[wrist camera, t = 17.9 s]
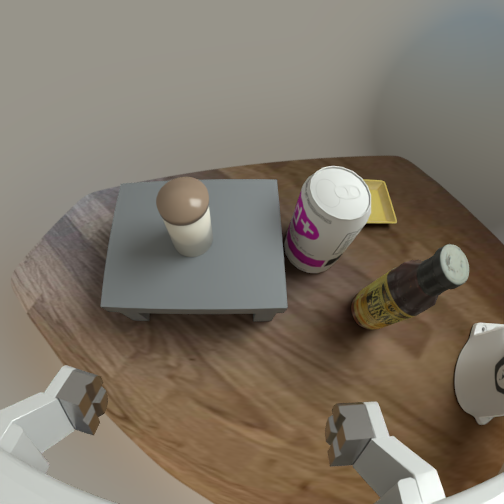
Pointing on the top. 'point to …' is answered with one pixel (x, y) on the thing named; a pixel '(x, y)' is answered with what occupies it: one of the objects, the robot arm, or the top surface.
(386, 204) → the yellow shallow tray
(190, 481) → the top surface
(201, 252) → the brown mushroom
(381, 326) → the sauce bottle
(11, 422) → the robot arm
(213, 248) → the footstool
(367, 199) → the supplement can
